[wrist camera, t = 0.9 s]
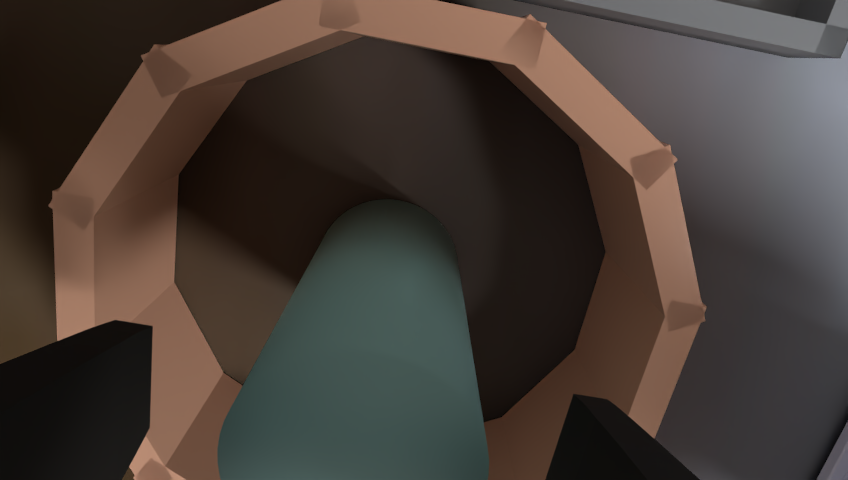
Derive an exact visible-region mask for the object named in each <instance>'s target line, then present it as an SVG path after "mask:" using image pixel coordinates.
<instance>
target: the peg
mask: <svg viewBox="0 0 848 480" xmlns="http://www.w3.org/2000/svg"><path fill="white" fill-rule="evenodd" d="M217 457H218V468H219V474H220V479H221V480H488V476H489V455H488V447H487V440H486V434H485V428H484V422H483V415H482V409H481V403H480V397H479V390H478V384H477V378H476V372H475V366H474V359H473V353H472V347H471V341H470V335H469V328H468V322H467V316H466V310H465V303H464V297H463V291H462V285H461V279H460V272H459V266H458V260H457V254H456V250H455V246H454V244H453V241H452V239H451V237H450V235H449V233H448V232H447V230H446V229H445V227H444V226H443V225H442V224H441V223H440V222H439V221H438V220H437V219H436V218H435V217H434V216H433V215H432V214H430V213H429V212H427V211H426V210H424V209H422V208H420V207H419V206H416V205H414V204H411V203H408V202H404V201H400V200H392V199H380V200H373V201H369V202H365V203H362V204H359V205H357V206H354V207H353V208H351V209H349V210H347V211H346V212H345V213H343V214H342V215H341V216H339V217H338V218H337V219H336V220H335V221H334V222H333V224H332V225H331V226H330V228H329V229H328V230H327V232H326V234H325V236H324V238H323V240H322V241H321V243H320V245H319V247H318V249H317V251H316V252H315V254H314V256H313V258H312V260H311V262H310V263H309V265H308V267H307V269H306V271H305V273H304V274H303V276H302V278H301V280H300V282H299V284H298V285H297V287H296V289H295V291H294V293H293V295H292V296H291V298H290V300H289V302H288V304H287V305H286V307H285V309H284V311H283V313H282V315H281V316H280V318H279V320H278V322H277V324H276V326H275V327H274V329H273V331H272V333H271V335H270V337H269V338H268V340H267V342H266V344H265V346H264V348H263V349H262V351H261V353H260V355H259V357H258V359H257V360H256V362H255V364H254V366H253V368H252V370H251V371H250V373H249V375H248V377H247V379H246V381H245V382H244V384H243V386H242V388H241V390H240V392H239V393H238V395H237V397H236V399H235V401H234V403H233V404H232V406H231V408H230V410H229V412H228V414H227V416H226V418H225V420H224V422H223V425H222V428H221V431H220V435H219V442H218V448H217Z"/></svg>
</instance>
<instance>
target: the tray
mask: <svg viewBox="0 0 848 480" xmlns="http://www.w3.org/2000/svg"><path fill="white" fill-rule="evenodd" d="M515 1H520V2H525V3H530V4H534V5H539V6H544V7H549V8H554V9H558V10H563V11H568V12H573V13H578V14H582V15H587V16H592V17H597V18H601V19H606V20H611V21H616V22H621V23H625V24H630V25H635V26H640V27H645V28H649V29H654V30H659V31H664V32H669V33H673V34H678V35H683V36H688V37H693V38H697V39H702V40H707V41H712V42H717V43H721V44H726V45H731V46H736V47H740V48H745V49H750V50H755V51H760V52H764V53H769V54H774V55H779V56H784V57H788V58H841V55H842V53H843V51H844V48H845V46H846V43H847V41H848V0H515Z"/></svg>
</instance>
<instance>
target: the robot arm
mask: <svg viewBox="0 0 848 480" xmlns="http://www.w3.org/2000/svg"><path fill="white" fill-rule="evenodd" d="M152 337H153V326H150V325H144V324H138V323H132V322H125V321H119V320H113V321H110V322H107V323H104V324H101V325H98V326H95V327H92V328H90V329H87V330H84V331H82V332H79V333H77V334H74V335H72V336H69V337H67V338H64V339H62V340H59V341H57V342H54V343H52V344H49V345H47V346H44V347H42V348H39V349H37V350H34V351H32V352H29V353H27V354H24V355H22V356H19V357H17V358H14V359H12V360H9V361H7V362H4V363H2V364H0V480H122V478H123V476H124V475H125V473H126V471H127V469H128V468H129V466H130V464H131V462H132V460H133V459H134V457H135V455H136V453H137V451H138V449H139V447H140V445H141V444H142V442H143V440H144V438H145V436H146V434H147V432H148V430H149V428H150V406H151V372H152ZM545 480H700V479H699V478H697V477H696V476H695V475H694V474H693V473H692V472H691V471H689V470H688V469H687V468H686V467H685V466H684V465H683V464H682V463H681V462H679V461H678V460H677V459H676V458H675V457H674V456H673V455H672V454H670V453H669V452H668V451H667V450H666V449H665V448H664V447H663V446H662V445H660V444H659V443H658V442H657V441H656V440H655V439H654V438H653V437H652V436H650V435H649V434H648V433H647V432H646V431H645V430H644V429H643V428H642V427H640V426H639V425H638V424H637V423H636V422H635V421H634V420H632V419H631V418H630V417H629V416H628V415H627V414H625V413H624V412H623V411H622V410H621V409H619V408H618V407H617V406H616V405H614V404H613V403H612V402H610V401H609V400H608V399H603V398H597V397H591V396H585V395H578V394H573V397H572V400H571V403H570V406H569V409H568V412H567V415H566V418H565V421H564V424H563V427H562V430H561V433H560V436H559V439H558V442H557V445H556V448H555V451H554V455H553V458H552V461H551V464H550V467H549V470H548V473H547V476H546V479H545ZM817 480H848V421H847V423H846V425H845V427H844V429H843V431H842V433H841V435H840V436H839V438H838V440H837V442H836V444H835V446H834V448H833V450H832V451H831V453H830V455H829V457H828V459H827V461H826V463H825V465H824V467H823V468H822V470H821V472H820V474H819V476H818V478H817Z"/></svg>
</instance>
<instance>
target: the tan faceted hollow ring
mask: <svg viewBox="0 0 848 480" xmlns="http://www.w3.org/2000/svg"><path fill="white" fill-rule="evenodd" d="M546 25H547V23H544V22H539V21H537V20H536V19H535V18H534V17H533V16H532V15H531V14H529V15H526V16H523V17H521V18H520V17H515V16H510V15H505V14H500V13H495V12H491V11H486V10H481V9H476V8H471V7H466V6H462V5H457V4H452V3H447V2H442V1H437V0H281V1H278V2H276V3H273V4H271V5H268V6H266V7H263V8H260V9H258V10H255V11H253V12H250V13H248V14H245V15H243V16H240V17H238V18H235V19H232V20H230V21H227V22H225V23H222V24H220V25H217V26H215V27H212V28H210V29H207V30H204V31H202V32H199V33H197V34H194V35H192V36H189V37H187V38H184V39H182V40H179V41H176V42H174V43H171V44H169V45H161V44H154V46H153V47H152V49H151V50H150V52H148V53H146V54H143V55H141V57H142V59H143V62H142V64H141V65H140V67H139V69H138V70H137V72H136V73H135V75H134V76H133V78H132V79H131V81H130V82H129V84H128V85H127V87H126V88H125V90H124V91H123V93H122V94H121V96H120V97H119V99H118V100H117V102H116V103H115V105H114V107H113V108H112V110H111V111H110V113H109V114H108V116H107V117H106V119H105V120H104V122H103V123H102V125H101V126H100V128H99V129H98V131H97V132H96V134H95V135H94V137H93V138H92V140H91V142H90V143H89V145H88V146H87V148H86V149H85V151H84V152H83V154H82V155H81V157H80V158H79V160H78V161H77V163H76V164H75V166H74V167H73V169H72V170H71V172H70V173H69V175H68V176H67V178H66V180H65V181H64V183H63V184H62V186H61V187H60V188H58V189H56V190H53V191H52V201H51V202H50V204H49V205H48V206H49V207H50V208H52V209H53V230H54V258H55V287H56V315H57V341H59V340H62V339H64V338H67V337H69V336H72V335H74V334H77V333H79V332H82V331H84V330H87V329H90V328H92V327H95V326H98V325H101V324H104V323H107V322H110V321H113V320H119V321H125V322H132V323H138V324H144V325H150V326H153V337H152V372H151V406H150V428H149V430H148V432H147V434H146V436H145V438H144V440H143V442H142V444H141V445H140V447H139V449H138V451H137V453H136V455H135V457H134V459H133V460H132V462H131V464H130V466H129V467H130V469H131V470H132V472H133V473H134V475H135V476H134V478H133V479H135V480H221V479H220V474H219V468H218V457H217V448H218V442H219V435H220V431H221V428H222V425H223V422H224V420H225V418H226V416H227V414H228V412H229V410H230V408H231V406H232V404H233V403H234V401H235V399H236V397H237V395H238V393H239V392H240V390H241V388H242V385H241V384H239V383H238V382H236V381H235V380H234V379H232V378H231V377H229V376H228V375H226V374H225V373H223V371H222V369H221V367H220V365H219V364H218V362H217V360H216V358H215V356H214V354H213V353H212V351H211V349H210V347H209V345H208V343H207V341H206V340H205V338H204V336H203V334H202V332H201V330H200V329H199V327H198V325H197V323H196V321H195V319H194V318H193V316H192V314H191V312H190V310H189V308H188V307H187V305H186V303H185V301H184V299H183V297H182V295H181V294H180V292H179V290H178V288H177V286H176V284H175V283H174V274H175V251H176V227H177V204H178V180H179V173H180V172H181V171H182V169H183V168H184V167H185V165H186V164H187V162H188V161H189V160H190V158H191V157H192V155H193V154H194V153H195V151H196V150H197V149H198V147H199V146H200V144H201V143H202V142H203V140H204V139H205V138H206V136H207V135H208V133H209V132H210V131H211V129H212V128H213V127H214V125H215V124H216V122H217V121H218V120H219V118H220V117H221V115H222V114H223V113H224V111H225V110H226V109H227V107H228V106H229V104H230V103H231V102H232V100H233V99H234V98H235V96H236V95H237V93H238V92H239V91H240V89H241V88H242V86H243V85H244V84H245V82H246V81H247V80H250V79H252V78H255V77H258V76H260V75H263V74H266V73H268V72H271V71H274V70H276V69H279V68H281V67H284V66H287V65H289V64H292V63H295V62H297V61H300V60H303V59H305V58H308V57H311V56H313V55H316V54H319V53H321V52H324V51H326V50H329V49H332V48H334V47H337V46H340V45H342V44H345V43H348V42H350V41H353V40H356V39H358V38H361V37H363V36H365V37H370V38H375V39H380V40H385V41H390V42H395V43H400V44H405V45H410V46H415V47H420V48H424V49H429V50H434V51H439V52H444V53H449V54H454V55H459V56H464V57H469V58H474V59H479V60H484V61H489V62H491V63H492V64H493V65H494V66H495V67H496V68H497V69H498V70H499V71H500V72H501V73H502V74H503V75H505V76H506V77H507V78H508V79H509V80H510V81H511V82H512V83H513V84H514V85H515V86H516V87H517V88H518V89H519V90H521V91H522V92H523V93H524V94H525V95H526V96H527V97H528V98H529V99H530V100H531V101H532V102H533V103H534V104H535V105H537V106H538V107H539V108H540V109H541V110H542V111H543V112H544V113H545V114H546V115H547V116H548V117H549V118H550V119H551V120H552V121H554V122H555V123H556V124H557V125H558V126H559V127H560V128H561V129H562V130H563V131H564V132H565V133H566V134H567V135H568V136H570V137H571V138H572V139H573V140H574V141H575V142H576V143H577V144H578V145H579V149H580V153H581V157H582V161H583V165H584V169H585V173H586V177H587V181H588V185H589V188H590V192H591V196H592V200H593V204H594V208H595V212H596V216H597V220H598V224H599V227H600V231H601V235H602V239H603V243H604V247H605V251H606V253H605V256H604V259H603V262H602V265H601V268H600V271H599V275H598V278H597V281H596V284H595V287H594V290H593V293H592V297H591V300H590V303H589V306H588V309H587V312H586V315H585V319H584V322H583V325H582V328H581V331H580V334H579V337H578V341H577V344H576V347H575V350H574V351H573V352H572V353H571V354H569V355H568V356H567V357H566V358H565V359H564V360H563V361H562V362H561V363H560V364H559V365H558V366H556V367H555V368H554V369H553V370H552V371H551V372H550V373H549V374H548V375H547V376H546V377H545V378H543V379H542V380H541V381H540V382H539V383H538V384H537V385H536V386H535V387H534V388H533V389H532V390H530V391H529V392H528V393H527V394H526V395H525V396H524V397H523V398H522V399H521V400H520V401H519V402H518V403H516V404H515V405H514V406H513V407H512V408H511V409H510V410H509V411H508V412H507V413H506V414H505V415H503V416H502V417H501V418H497V419H494V420H490V421H487V422H484V428H485V434H486V440H487V447H488V455H489V476H488V480H545V479H546V476H547V473H548V470H549V467H550V464H551V461H552V458H553V455H554V451H555V448H556V445H557V442H558V439H559V436H560V433H561V430H562V427H563V424H564V421H565V418H566V415H567V412H568V409H569V406H570V403H571V400H572V397H573V394H578V395H585V396H591V397H597V398H603V399H608V400H609V401H610V402H612V403H613V404H614V405H616V406H617V407H618V408H619V409H621V410H622V411H623V412H624V413H625V414H627V415H628V416H629V417H630V418H631V419H632V420H634V421H635V422H636V423H637V424H638V425H639V426H640V427H642V428H643V429H644V430H645V431H646V432H647V433H648V434H649V435H650V436H652V437H653V438H654V439H655V436H656V434H657V431H658V429H659V426H660V424H661V421H662V419H663V416H664V414H665V411H666V409H667V406H668V404H669V401H670V399H671V396H672V393H673V391H674V388H675V386H676V383H677V381H678V378H679V376H680V373H681V371H682V368H683V366H684V363H685V361H686V358H687V356H688V353H689V351H690V348H691V346H692V343H693V341H694V338H695V336H696V333H697V331H698V328H699V326H700V323H701V322H704V321H705V316H704V313H705V310H706V308H707V306H706V305H704V304H703V303H702V301H701V296H700V291H699V286H698V282H697V277H696V272H695V267H694V262H693V257H692V252H691V247H690V242H689V237H688V232H687V227H686V222H685V217H684V212H683V207H682V202H681V197H680V192H679V187H678V182H677V177H676V172H675V167H674V163H675V162H676V161H677V160H678V159H677V158H676V157H675V156H674V155H673V154H672V152H671V147H670V145H669V144H666V143H663V142H661V141H658V140H657V139H656V138H655V137H654V136H653V135H652V134H651V133H650V132H649V131H648V130H647V129H646V128H645V127H644V126H643V125H642V124H641V123H640V122H639V121H638V120H637V119H636V118H635V117H634V116H633V115H632V114H631V113H630V112H629V111H628V110H627V109H626V108H625V107H624V106H623V105H622V104H621V103H620V102H619V101H618V100H617V99H616V98H615V97H614V96H613V95H612V94H611V93H610V92H609V91H608V90H607V89H606V88H605V87H604V86H603V85H602V84H601V83H600V82H599V81H597V80H596V79H595V78H594V77H593V76H592V75H591V74H590V73H589V72H588V71H587V70H586V69H585V68H584V67H583V66H582V65H581V64H580V63H579V62H578V61H577V60H576V59H575V58H574V57H573V56H572V55H571V54H570V53H569V52H568V51H567V50H566V49H565V48H564V47H563V46H562V45H561V44H560V43H559V42H558V41H557V40H556V39H555V38H554V37H553V36H552V35H551V34H550V33H549V32H548V31H547V30H546Z"/></svg>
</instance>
